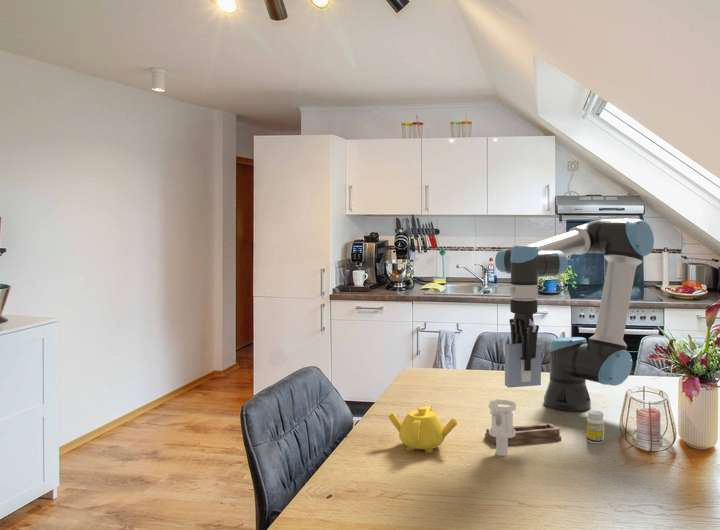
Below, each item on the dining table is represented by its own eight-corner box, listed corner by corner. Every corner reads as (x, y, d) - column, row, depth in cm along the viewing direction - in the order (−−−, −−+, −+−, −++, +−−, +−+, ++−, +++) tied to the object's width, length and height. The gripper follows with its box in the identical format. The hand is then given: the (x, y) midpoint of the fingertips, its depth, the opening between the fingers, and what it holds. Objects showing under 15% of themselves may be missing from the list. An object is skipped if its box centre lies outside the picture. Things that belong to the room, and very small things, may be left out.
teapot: (463, 440, 178) (463, 402, 178) (451, 463, 162) (451, 421, 161) (396, 432, 185) (396, 396, 184) (378, 454, 168) (378, 414, 167)
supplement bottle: (591, 437, 180) (591, 408, 179) (607, 441, 176) (607, 412, 176) (583, 441, 176) (584, 412, 176) (599, 445, 173) (600, 416, 172)
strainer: (483, 451, 169) (483, 397, 168) (504, 447, 172) (505, 394, 171) (498, 460, 163) (499, 404, 162) (520, 456, 166) (521, 401, 165)
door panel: (535, 382, 181) (535, 342, 180) (540, 385, 178) (541, 344, 177) (503, 384, 179) (504, 343, 178) (508, 387, 176) (509, 345, 175)
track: (546, 430, 185) (547, 421, 185) (561, 440, 177) (561, 429, 177) (484, 436, 181) (484, 426, 181) (496, 446, 173) (496, 435, 173)
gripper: (499, 296, 183) (499, 374, 185) (524, 303, 168) (523, 388, 170) (523, 295, 185) (522, 372, 186) (549, 302, 169) (548, 386, 171)
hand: (523, 379), depth 178 cm, fingers closed on door panel, 2 cm apart
